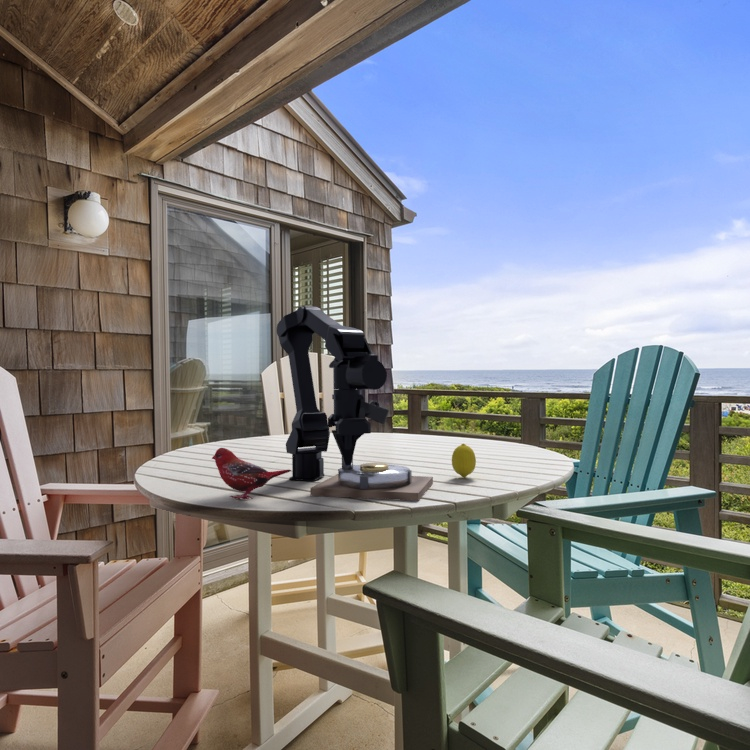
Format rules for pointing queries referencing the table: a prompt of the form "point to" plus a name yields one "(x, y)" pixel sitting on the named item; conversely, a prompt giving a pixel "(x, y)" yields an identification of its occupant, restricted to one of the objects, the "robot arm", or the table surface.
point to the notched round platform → (373, 476)
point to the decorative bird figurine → (242, 473)
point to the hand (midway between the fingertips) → (348, 465)
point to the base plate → (374, 490)
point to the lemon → (463, 460)
